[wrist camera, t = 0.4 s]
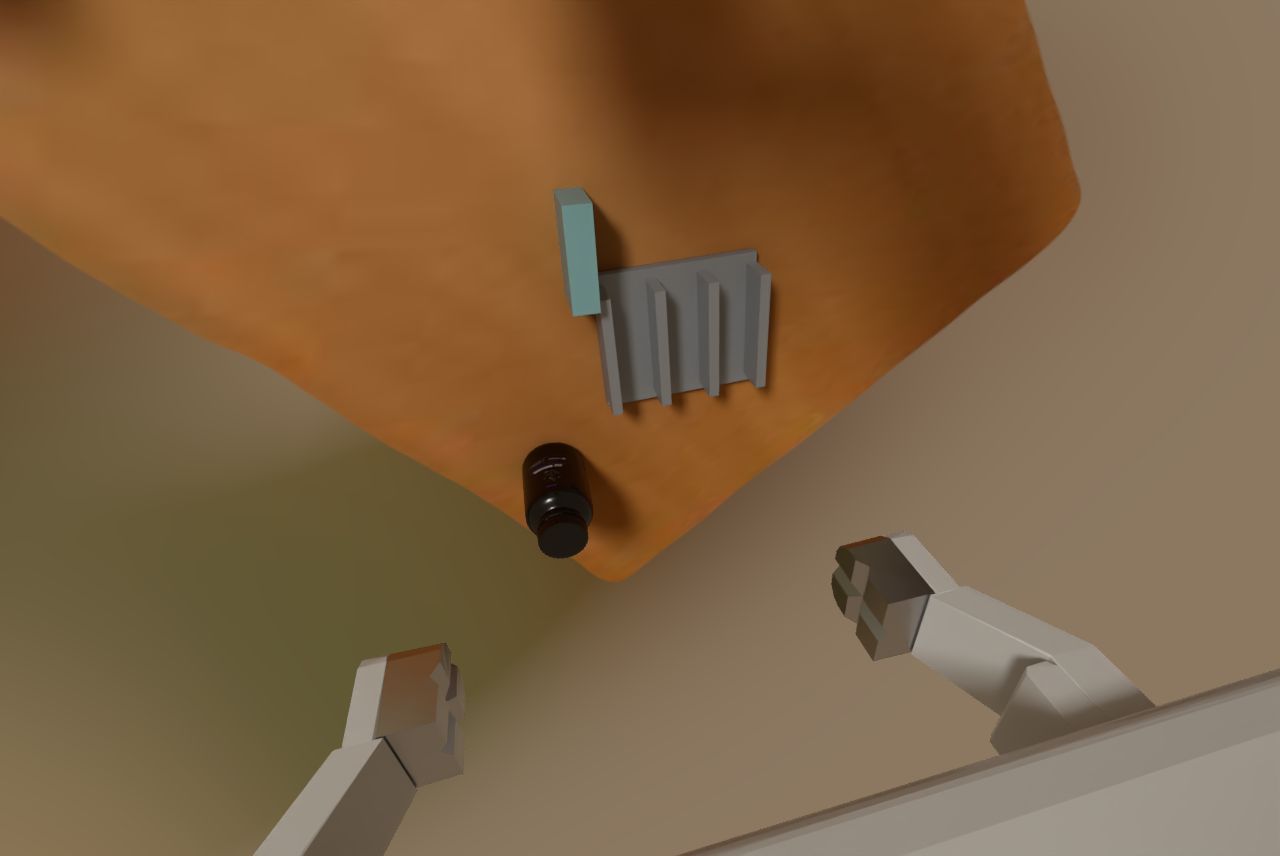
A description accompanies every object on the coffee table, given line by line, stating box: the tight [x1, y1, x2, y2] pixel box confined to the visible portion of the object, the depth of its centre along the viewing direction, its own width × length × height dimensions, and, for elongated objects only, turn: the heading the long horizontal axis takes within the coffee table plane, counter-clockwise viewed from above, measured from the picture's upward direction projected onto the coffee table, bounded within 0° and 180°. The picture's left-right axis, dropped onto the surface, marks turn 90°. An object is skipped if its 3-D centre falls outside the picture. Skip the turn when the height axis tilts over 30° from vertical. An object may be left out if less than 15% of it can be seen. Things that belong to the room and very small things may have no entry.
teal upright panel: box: [553, 187, 601, 316], centre depth 49 cm, size 9×2×6 cm, turn 2°
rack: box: [595, 248, 772, 416], centre depth 56 cm, size 14×16×4 cm
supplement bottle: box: [522, 443, 593, 558], centre depth 59 cm, size 7×7×12 cm
